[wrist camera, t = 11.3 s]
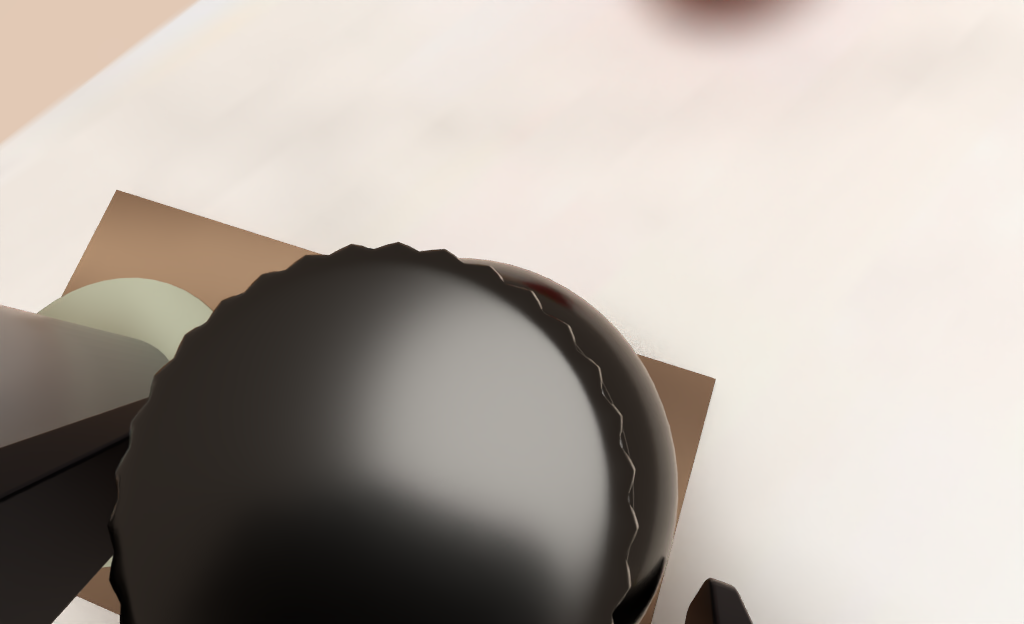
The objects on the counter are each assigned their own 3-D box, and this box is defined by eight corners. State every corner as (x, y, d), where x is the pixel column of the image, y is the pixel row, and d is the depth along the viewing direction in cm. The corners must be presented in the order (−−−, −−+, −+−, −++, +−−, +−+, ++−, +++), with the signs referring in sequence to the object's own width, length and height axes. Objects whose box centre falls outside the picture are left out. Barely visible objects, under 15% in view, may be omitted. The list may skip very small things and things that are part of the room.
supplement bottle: (437, 313, 18) (202, 57, 6) (650, 384, 17) (867, 242, 5) (353, 532, 16) (-158, 751, 5) (579, 624, 15) (646, 1195, 4)
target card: (595, 814, 15) (597, 830, 14) (-70, 520, 18) (-91, 523, 17) (715, 365, 17) (721, 362, 17) (110, 176, 20) (97, 168, 20)
